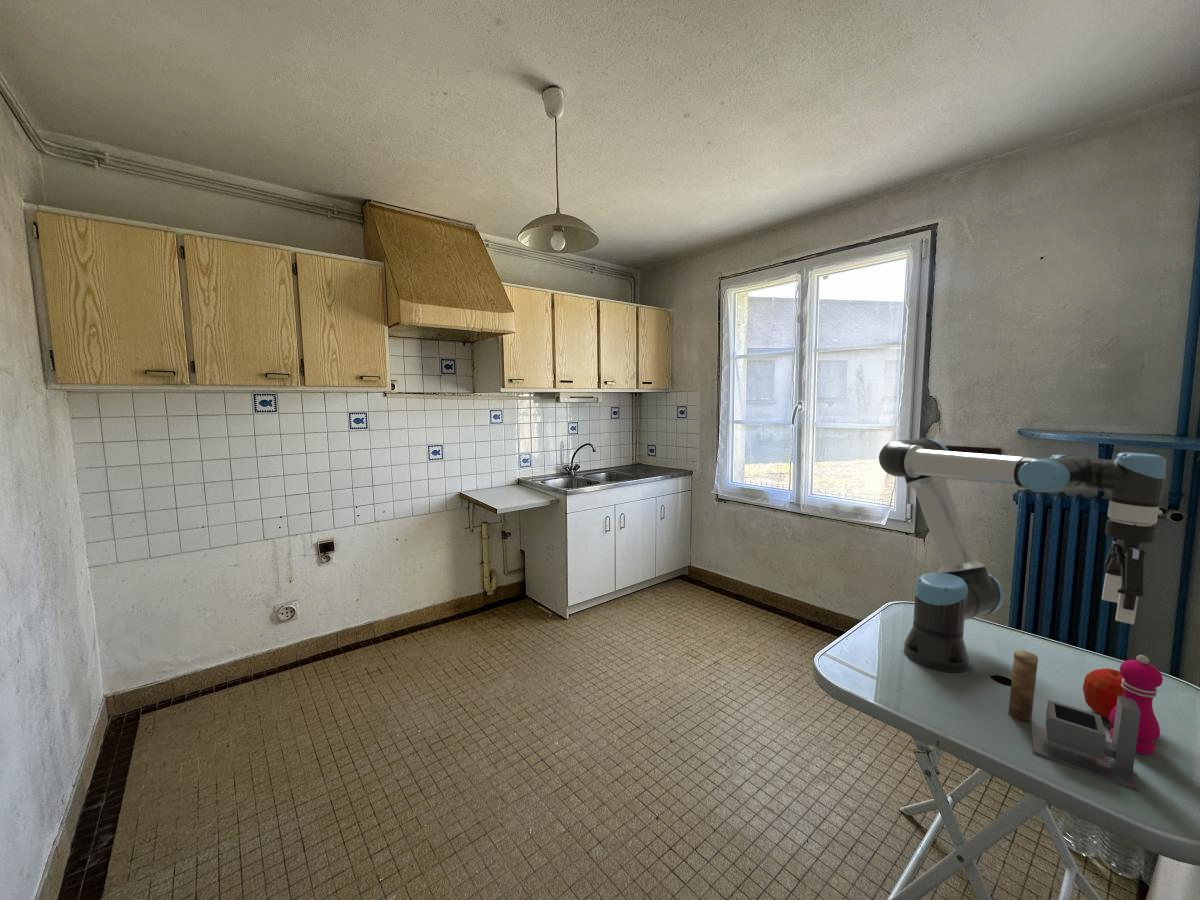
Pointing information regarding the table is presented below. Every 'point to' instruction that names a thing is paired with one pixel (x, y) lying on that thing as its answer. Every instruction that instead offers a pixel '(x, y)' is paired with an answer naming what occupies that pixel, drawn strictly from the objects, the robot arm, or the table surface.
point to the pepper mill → (1141, 699)
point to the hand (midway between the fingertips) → (1116, 611)
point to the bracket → (1090, 740)
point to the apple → (1103, 690)
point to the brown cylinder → (1023, 686)
